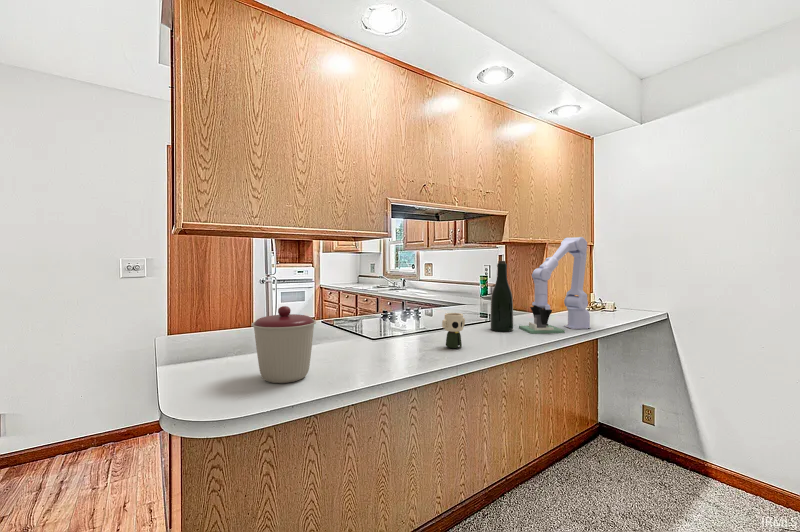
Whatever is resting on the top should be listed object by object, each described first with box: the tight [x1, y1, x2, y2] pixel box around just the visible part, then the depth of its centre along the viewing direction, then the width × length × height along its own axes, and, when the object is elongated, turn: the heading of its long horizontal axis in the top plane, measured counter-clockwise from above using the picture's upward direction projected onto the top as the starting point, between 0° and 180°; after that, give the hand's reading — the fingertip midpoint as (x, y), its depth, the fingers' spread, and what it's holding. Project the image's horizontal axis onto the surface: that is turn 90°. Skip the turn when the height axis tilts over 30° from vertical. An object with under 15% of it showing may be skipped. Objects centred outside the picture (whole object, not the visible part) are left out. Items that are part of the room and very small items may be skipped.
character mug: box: [441, 312, 466, 349], centre depth 158 cm, size 11×7×13 cm, turn 122°
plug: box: [533, 315, 549, 328], centre depth 191 cm, size 6×4×6 cm, turn 96°
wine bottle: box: [489, 260, 514, 333], centre depth 194 cm, size 10×10×33 cm
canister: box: [251, 305, 317, 384], centre depth 119 cm, size 18×18×21 cm
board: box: [518, 322, 566, 335], centre depth 193 cm, size 16×14×4 cm
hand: (540, 323), depth 191 cm, fingers open, 7 cm apart
